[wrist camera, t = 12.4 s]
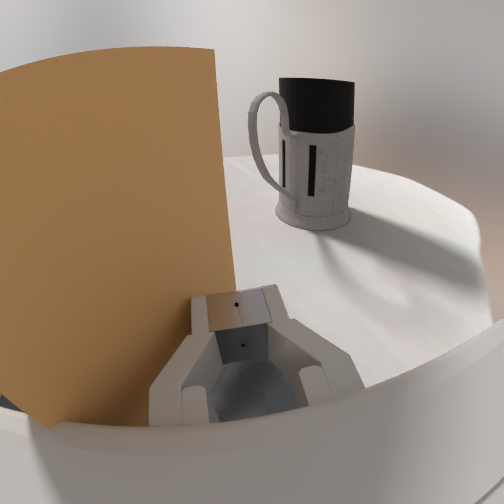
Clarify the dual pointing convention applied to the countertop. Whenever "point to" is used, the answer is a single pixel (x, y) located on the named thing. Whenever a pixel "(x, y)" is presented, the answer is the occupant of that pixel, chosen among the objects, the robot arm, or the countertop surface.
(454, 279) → the countertop surface
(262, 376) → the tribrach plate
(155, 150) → the tan slab with dome
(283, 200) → the glass holder
